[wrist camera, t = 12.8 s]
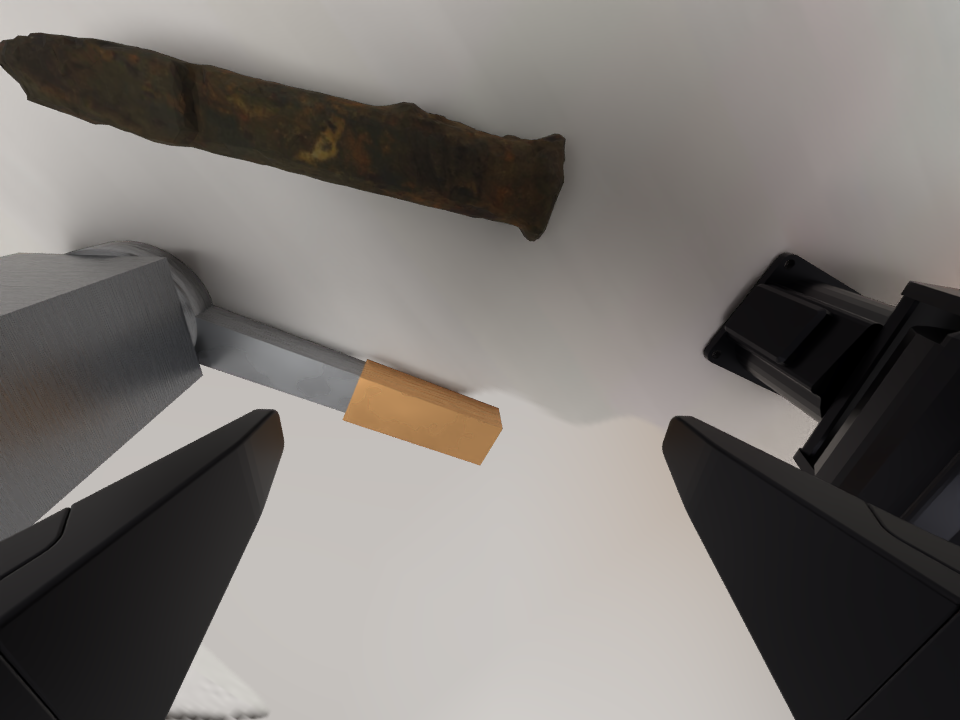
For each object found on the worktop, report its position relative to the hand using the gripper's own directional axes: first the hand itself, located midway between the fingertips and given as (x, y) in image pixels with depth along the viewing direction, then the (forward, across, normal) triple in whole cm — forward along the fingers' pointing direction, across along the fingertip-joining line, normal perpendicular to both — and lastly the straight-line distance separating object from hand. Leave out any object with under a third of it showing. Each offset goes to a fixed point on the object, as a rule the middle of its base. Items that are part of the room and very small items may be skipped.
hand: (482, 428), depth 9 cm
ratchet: (+12, +7, +5) cm, 15 cm away
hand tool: (+12, +6, -5) cm, 15 cm away
